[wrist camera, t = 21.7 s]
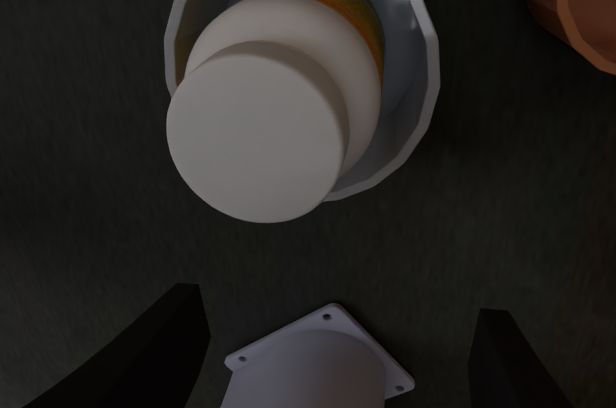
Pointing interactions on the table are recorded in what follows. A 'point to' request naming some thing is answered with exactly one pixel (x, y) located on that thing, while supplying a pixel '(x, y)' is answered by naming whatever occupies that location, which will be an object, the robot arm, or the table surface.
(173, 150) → the supplement bottle
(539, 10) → the copper cup
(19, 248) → the table surface
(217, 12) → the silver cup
